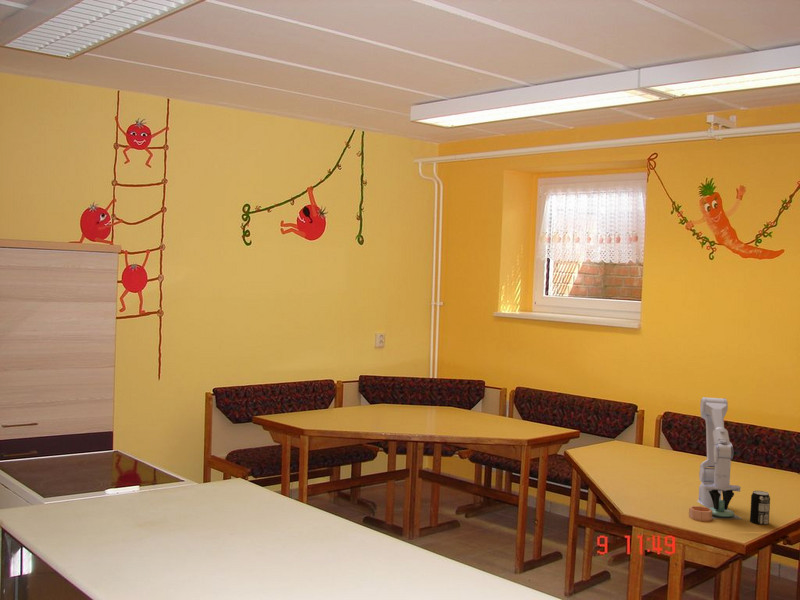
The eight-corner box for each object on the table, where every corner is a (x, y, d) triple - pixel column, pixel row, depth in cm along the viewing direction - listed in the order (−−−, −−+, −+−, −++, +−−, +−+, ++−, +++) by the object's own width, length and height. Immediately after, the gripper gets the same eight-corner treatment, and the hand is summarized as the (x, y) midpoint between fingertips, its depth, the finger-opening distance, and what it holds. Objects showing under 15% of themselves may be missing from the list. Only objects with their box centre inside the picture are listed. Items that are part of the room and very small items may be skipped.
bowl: (686, 516, 317) (686, 505, 317) (705, 516, 318) (705, 506, 318) (695, 522, 309) (695, 511, 309) (714, 522, 310) (715, 511, 310)
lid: (701, 509, 323) (702, 497, 323) (726, 509, 324) (726, 497, 324) (714, 516, 313) (714, 504, 313) (739, 516, 314) (739, 504, 314)
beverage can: (752, 520, 315) (754, 489, 315) (770, 523, 311) (772, 492, 311) (747, 523, 310) (749, 492, 310) (765, 527, 306) (767, 495, 306)
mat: (697, 510, 326) (697, 508, 326) (725, 510, 327) (725, 509, 327) (712, 520, 313) (712, 518, 313) (742, 520, 314) (742, 518, 314)
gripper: (709, 477, 313) (707, 512, 314) (745, 477, 315) (743, 512, 315) (700, 472, 320) (698, 506, 321) (735, 473, 322) (734, 507, 322)
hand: (720, 509), depth 318 cm, fingers closed on lid, 3 cm apart
